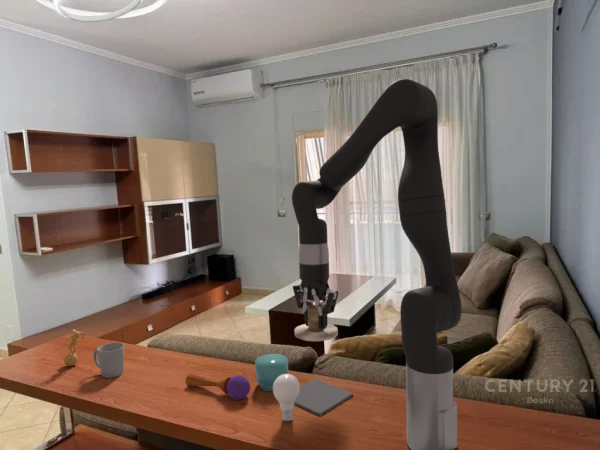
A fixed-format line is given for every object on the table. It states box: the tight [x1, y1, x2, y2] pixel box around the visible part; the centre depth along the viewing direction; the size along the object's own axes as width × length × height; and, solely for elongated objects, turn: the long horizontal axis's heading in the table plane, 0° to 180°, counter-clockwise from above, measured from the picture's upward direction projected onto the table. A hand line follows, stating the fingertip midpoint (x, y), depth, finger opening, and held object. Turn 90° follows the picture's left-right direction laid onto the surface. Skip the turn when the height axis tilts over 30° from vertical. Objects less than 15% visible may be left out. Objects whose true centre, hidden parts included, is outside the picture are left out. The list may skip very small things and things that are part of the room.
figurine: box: [61, 328, 85, 367], centre depth 133 cm, size 8×6×12 cm
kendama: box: [185, 373, 251, 401], centre depth 114 cm, size 6×6×20 cm
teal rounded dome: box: [254, 353, 289, 392], centre depth 117 cm, size 9×9×7 cm
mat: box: [294, 378, 354, 417], centre depth 109 cm, size 13×13×1 cm
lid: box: [294, 304, 339, 342], centre depth 108 cm, size 11×11×7 cm
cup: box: [93, 341, 125, 379], centre depth 127 cm, size 8×10×8 cm
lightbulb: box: [272, 373, 301, 422], centre depth 98 cm, size 6×6×11 cm
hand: (315, 326), depth 108 cm, fingers closed on lid, 4 cm apart
